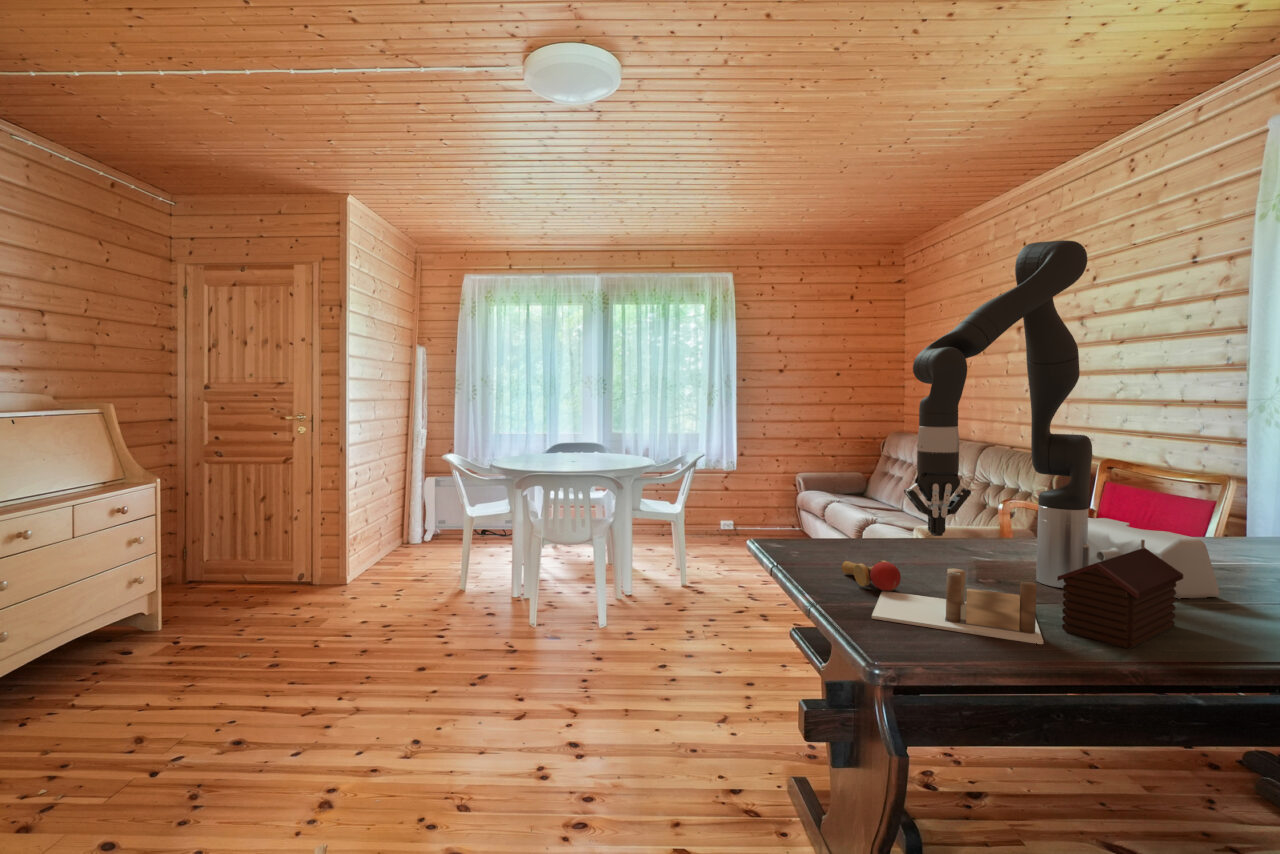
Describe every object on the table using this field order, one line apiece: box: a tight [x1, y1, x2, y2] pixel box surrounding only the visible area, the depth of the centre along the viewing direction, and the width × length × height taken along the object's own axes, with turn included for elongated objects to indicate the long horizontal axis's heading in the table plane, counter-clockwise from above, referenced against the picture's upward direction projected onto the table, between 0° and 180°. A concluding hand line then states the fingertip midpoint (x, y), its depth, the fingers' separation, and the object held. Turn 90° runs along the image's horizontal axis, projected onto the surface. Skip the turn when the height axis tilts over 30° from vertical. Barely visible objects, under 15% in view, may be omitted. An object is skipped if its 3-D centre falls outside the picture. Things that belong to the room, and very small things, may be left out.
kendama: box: [841, 560, 902, 592], centre depth 137 cm, size 8×6×18 cm
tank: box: [1087, 517, 1220, 600], centre depth 139 cm, size 25×16×12 cm, turn 6°
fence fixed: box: [945, 572, 1038, 634], centre depth 111 cm, size 14×2×9 cm, turn 63°
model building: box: [1057, 540, 1183, 649], centre depth 111 cm, size 21×12×15 cm, turn 123°
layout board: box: [871, 590, 1044, 645], centre depth 118 cm, size 27×17×1 cm, turn 63°
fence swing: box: [946, 568, 966, 604], centre depth 120 cm, size 11×3×6 cm, turn 151°
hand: (936, 535), depth 125 cm, fingers closed
